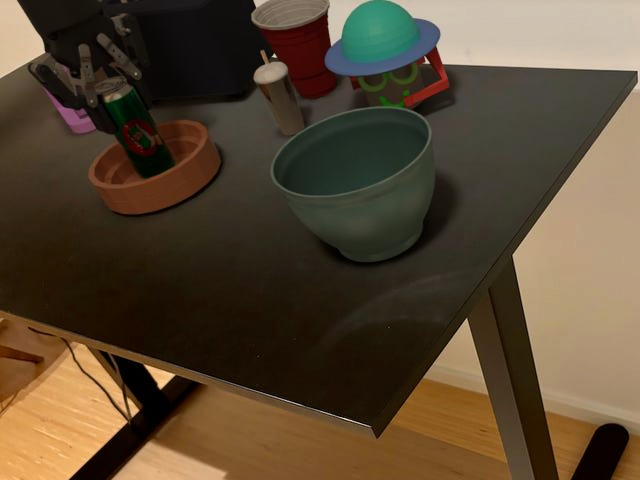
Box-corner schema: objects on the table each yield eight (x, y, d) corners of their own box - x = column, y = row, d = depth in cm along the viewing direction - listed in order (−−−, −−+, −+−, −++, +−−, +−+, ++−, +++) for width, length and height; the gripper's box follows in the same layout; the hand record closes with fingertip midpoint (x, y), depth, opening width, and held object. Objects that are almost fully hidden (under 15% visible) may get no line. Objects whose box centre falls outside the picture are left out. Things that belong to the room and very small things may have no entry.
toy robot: (346, 151, 92) (307, 43, 82) (346, 98, 103) (312, -5, 93) (461, 124, 92) (435, 11, 82) (449, 73, 102) (425, -33, 92)
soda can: (148, 163, 97) (97, 78, 88) (183, 158, 96) (135, 71, 87) (134, 185, 93) (81, 98, 85) (170, 179, 93) (120, 91, 84)
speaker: (279, 62, 116) (240, -38, 105) (245, 103, 108) (198, 0, 97) (167, 72, 122) (119, -21, 111) (126, 112, 114) (70, 15, 103)
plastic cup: (333, 108, 101) (303, 22, 93) (270, 108, 105) (235, 25, 97) (367, 70, 108) (341, -14, 99) (306, 71, 112) (276, -10, 103)
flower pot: (374, 180, 86) (345, 95, 79) (483, 209, 78) (463, 117, 70) (280, 262, 79) (237, 177, 71) (390, 303, 70) (355, 212, 63)
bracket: (59, 112, 119) (32, 71, 114) (91, 97, 121) (66, 57, 116) (77, 137, 111) (49, 94, 106) (111, 121, 113) (85, 78, 108)
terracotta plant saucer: (156, 228, 88) (137, 198, 85) (85, 204, 96) (64, 175, 93) (246, 159, 96) (231, 128, 93) (173, 142, 104) (157, 113, 100)
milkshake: (306, 114, 102) (278, 44, 94) (312, 131, 98) (283, 59, 91) (275, 125, 101) (245, 55, 94) (279, 142, 97) (249, 71, 90)
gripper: (79, -52, 83) (155, 88, 95) (-32, 3, 76) (65, 147, 88) (117, -50, 79) (191, 95, 91) (4, 7, 72) (100, 156, 84)
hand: (128, 120), depth 89 cm, fingers closed on soda can, 5 cm apart
